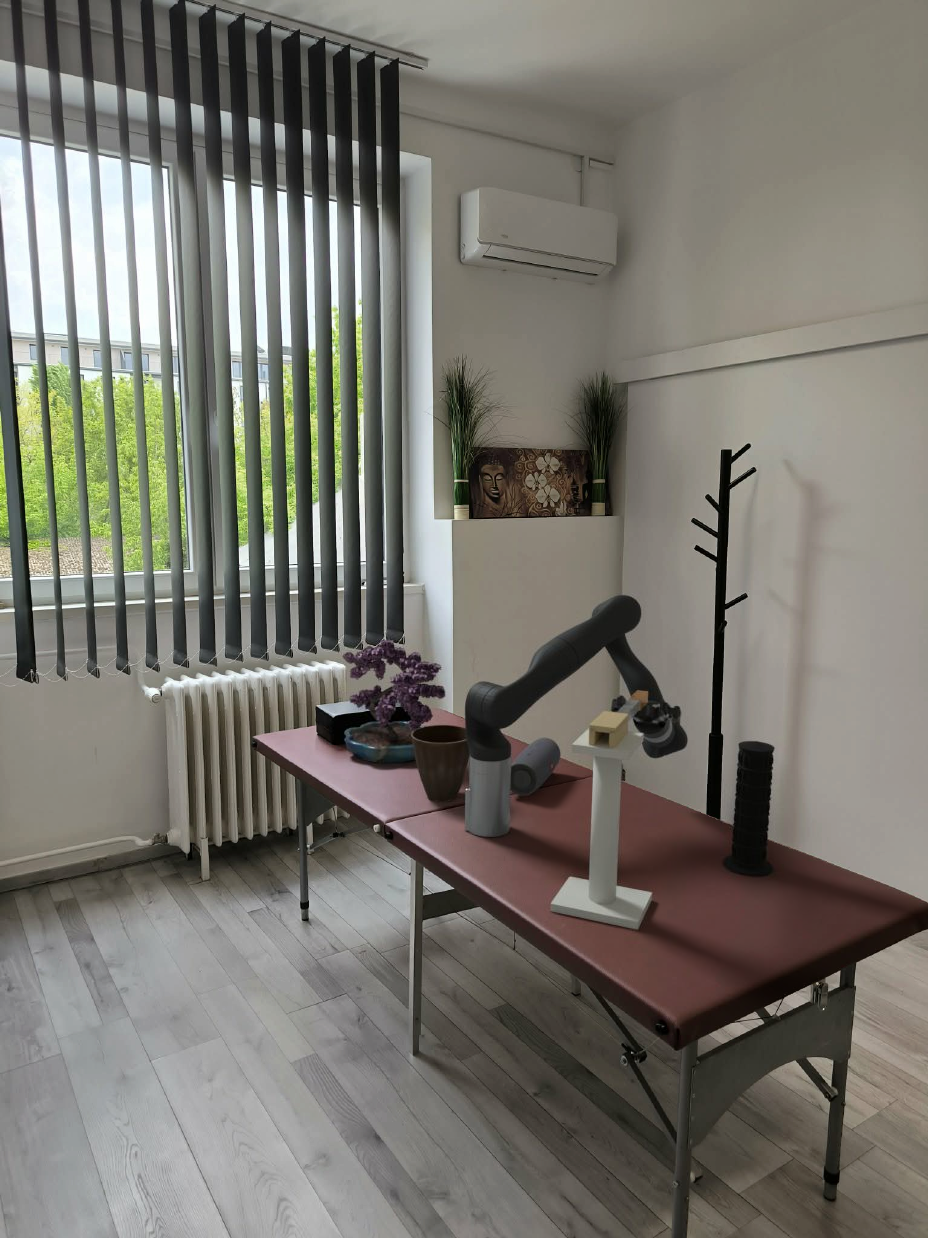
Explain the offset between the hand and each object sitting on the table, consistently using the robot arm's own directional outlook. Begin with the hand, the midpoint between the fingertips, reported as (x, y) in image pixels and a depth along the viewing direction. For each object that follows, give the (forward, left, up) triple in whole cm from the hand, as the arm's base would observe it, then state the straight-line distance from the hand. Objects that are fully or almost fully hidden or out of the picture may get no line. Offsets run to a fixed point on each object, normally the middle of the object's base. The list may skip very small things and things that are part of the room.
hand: (640, 702), depth 184 cm
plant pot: (-50, +11, -33) cm, 61 cm away
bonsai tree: (-75, +35, -33) cm, 89 cm away
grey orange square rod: (0, -11, 0) cm, 11 cm away
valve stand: (0, -27, -32) cm, 42 cm away
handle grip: (+23, +2, -33) cm, 40 cm away
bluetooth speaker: (-32, +28, -33) cm, 54 cm away
